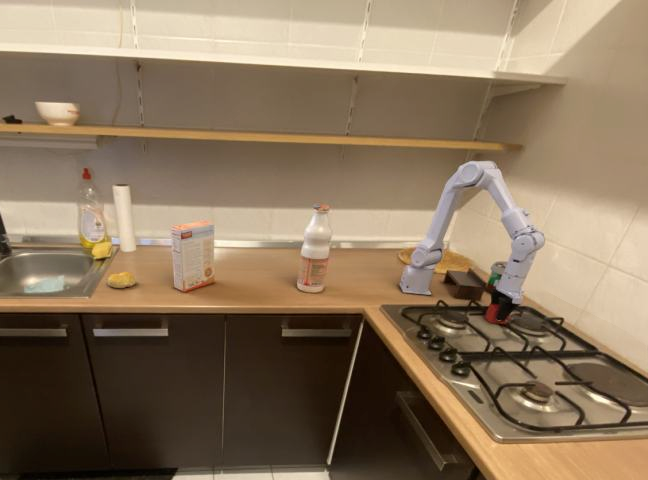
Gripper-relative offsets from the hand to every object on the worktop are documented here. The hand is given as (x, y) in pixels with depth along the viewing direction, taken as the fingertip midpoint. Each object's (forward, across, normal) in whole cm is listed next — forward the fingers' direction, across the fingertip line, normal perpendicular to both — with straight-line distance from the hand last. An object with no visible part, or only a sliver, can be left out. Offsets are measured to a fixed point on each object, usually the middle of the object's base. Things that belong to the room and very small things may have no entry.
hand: (496, 316), depth 117 cm
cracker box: (+2, +2, +97) cm, 97 cm away
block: (+1, 0, 0) cm, 1 cm away
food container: (+2, +28, -9) cm, 29 cm away
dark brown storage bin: (+1, +24, +3) cm, 24 cm away
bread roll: (+2, -4, +121) cm, 121 cm away
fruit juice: (+2, +11, +57) cm, 58 cm away
